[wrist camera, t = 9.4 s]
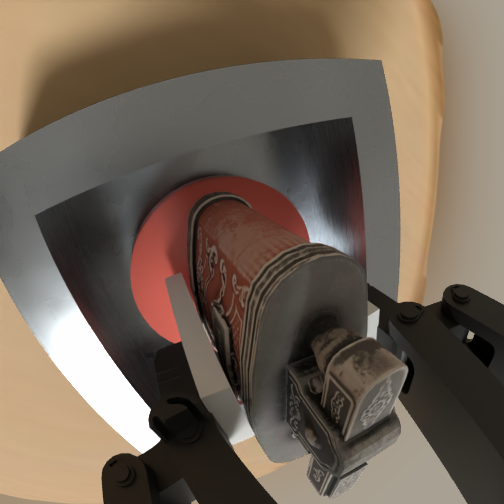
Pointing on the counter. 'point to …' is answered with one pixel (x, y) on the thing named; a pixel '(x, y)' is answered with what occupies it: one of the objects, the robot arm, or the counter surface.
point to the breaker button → (175, 241)
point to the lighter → (293, 340)
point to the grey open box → (172, 177)
